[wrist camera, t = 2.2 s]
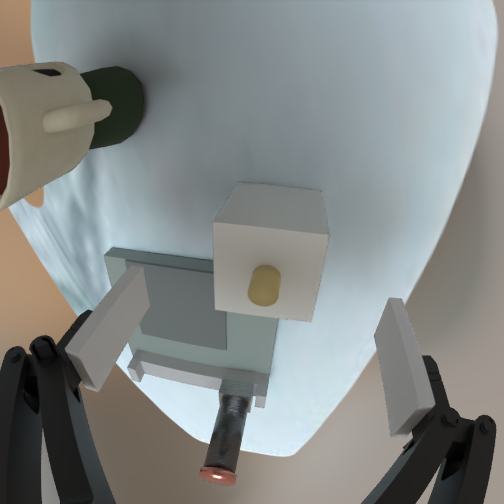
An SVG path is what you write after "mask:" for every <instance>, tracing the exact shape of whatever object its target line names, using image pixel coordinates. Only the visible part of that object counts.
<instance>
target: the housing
mask: <svg viewBox="0 0 504 504" xmlns="http://www.w3.org/2000/svg"><path fill="white" fill-rule="evenodd" d="M329 236H330V234H329V228H328V222H327V217H326V211H325V206H324V200H323V195H322V191H319V190H311V189H303V188H294V187H285V186H276V185H266V184H256V183H245V182H238V183H237V185H236V186H235V188H234V189H233V191H232V193H231V194H230V196H229V197H228V199H227V200H226V202H225V203H224V205H223V207H222V208H221V210H220V211H219V213H218V215H217V216H216V218H215V219H214V221H213V261H214V295H215V310H221V311H227V312H234V313H241V314H248V315H255V316H263V317H271V318H279V319H287V320H296V321H305V322H311V321H312V317H313V312H314V308H315V304H316V299H317V295H318V290H319V286H320V281H321V276H322V272H323V267H324V262H325V257H326V252H327V247H328V242H329Z"/></svg>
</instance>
